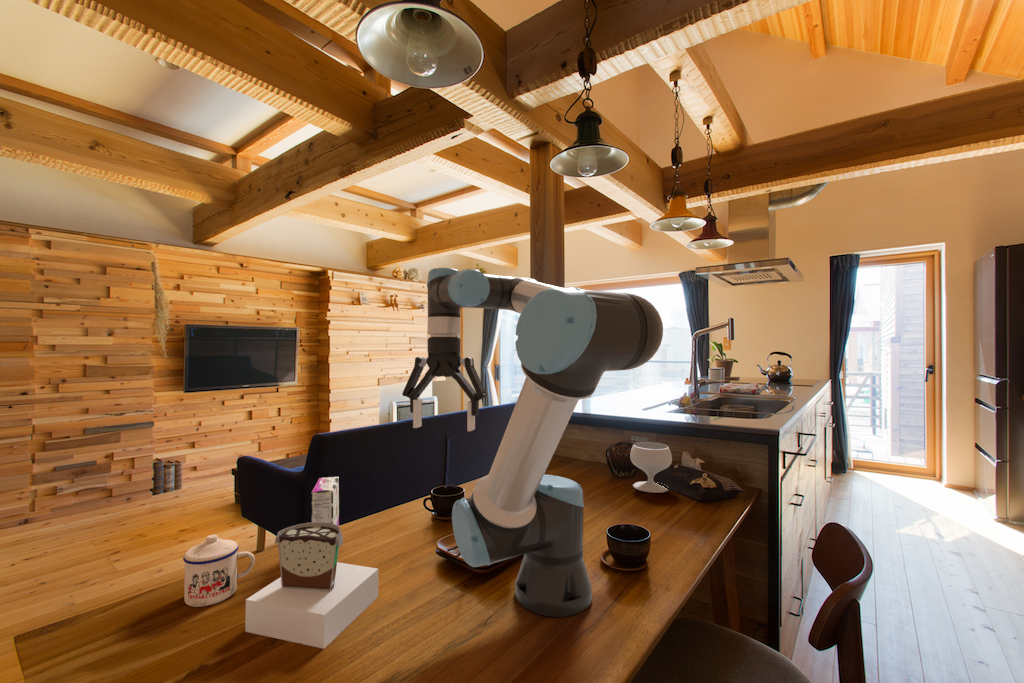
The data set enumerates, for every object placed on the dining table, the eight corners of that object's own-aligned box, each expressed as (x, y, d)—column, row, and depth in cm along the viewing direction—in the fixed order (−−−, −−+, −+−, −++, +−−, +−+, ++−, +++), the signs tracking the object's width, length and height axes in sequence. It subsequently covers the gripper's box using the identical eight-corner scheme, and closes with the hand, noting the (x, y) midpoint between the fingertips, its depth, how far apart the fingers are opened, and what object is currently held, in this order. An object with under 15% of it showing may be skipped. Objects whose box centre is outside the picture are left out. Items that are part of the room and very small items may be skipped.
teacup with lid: (179, 613, 83) (180, 550, 84) (186, 590, 91) (186, 532, 91) (254, 596, 89) (255, 537, 89) (254, 575, 97) (254, 521, 97)
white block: (378, 599, 90) (378, 568, 90) (324, 651, 74) (324, 614, 74) (309, 587, 94) (310, 557, 94) (245, 634, 78) (245, 599, 78)
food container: (354, 574, 87) (355, 522, 87) (338, 591, 81) (339, 535, 81) (293, 571, 88) (294, 519, 89) (273, 587, 82) (274, 532, 82)
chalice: (680, 492, 154) (680, 448, 154) (644, 496, 150) (644, 451, 150) (656, 480, 167) (656, 440, 167) (622, 483, 163) (622, 442, 163)
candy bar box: (318, 542, 114) (318, 477, 114) (339, 540, 115) (340, 475, 115) (310, 563, 103) (310, 491, 103) (333, 561, 104) (334, 489, 104)
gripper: (500, 336, 104) (500, 428, 104) (404, 337, 112) (404, 423, 112) (489, 335, 97) (489, 434, 97) (387, 336, 105) (387, 428, 104)
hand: (443, 428), depth 104 cm, fingers open, 13 cm apart
